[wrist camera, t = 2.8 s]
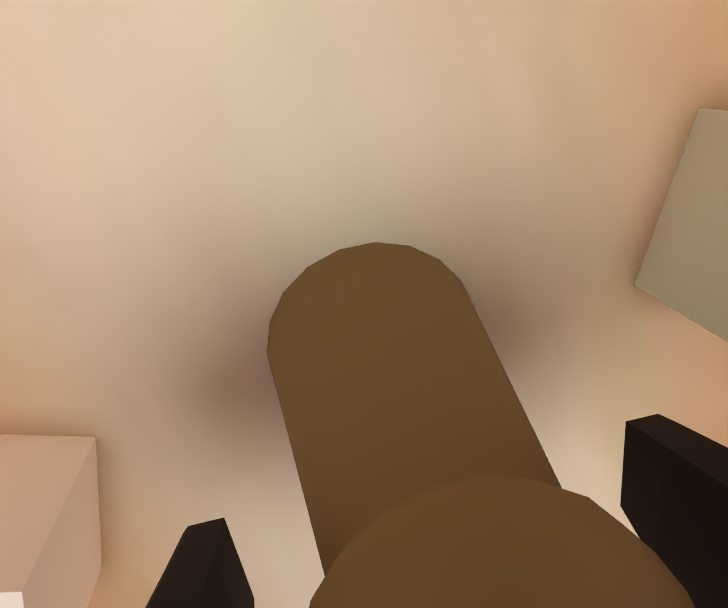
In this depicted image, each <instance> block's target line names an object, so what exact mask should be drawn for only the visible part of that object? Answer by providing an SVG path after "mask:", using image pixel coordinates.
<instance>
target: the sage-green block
mask: <svg viewBox="0 0 728 608" xmlns="http://www.w3.org/2000/svg"><path fill="white" fill-rule="evenodd" d="M634 286H636V287H638V288H639V289H641V290H643V291H644V292H646V293H647V294H649V295H651V296H652V297H654V298H656V299H657V300H659V301H661V302H662V303H664V304H666V305H667V306H669V307H671V308H672V309H674V310H676V311H677V312H679V313H680V314H682V315H684V316H685V317H687V318H689V319H690V320H692V321H694V322H695V323H697V324H699V325H700V326H702V327H704V328H705V329H707V330H709V331H710V332H712V333H714V334H715V335H717V336H718V337H720V338H722V339H723V340H725V341H727V342H728V110H717V109H707V108H699V110H698V113H697V116H696V118H695V121H694V124H693V126H692V129H691V132H690V135H689V137H688V140H687V143H686V145H685V148H684V151H683V153H682V156H681V159H680V162H679V164H678V167H677V170H676V172H675V175H674V178H673V180H672V183H671V186H670V189H669V191H668V194H667V197H666V199H665V202H664V205H663V207H662V210H661V213H660V216H659V218H658V221H657V224H656V226H655V229H654V232H653V234H652V237H651V240H650V243H649V245H648V248H647V251H646V253H645V256H644V259H643V261H642V264H641V267H640V270H639V272H638V275H637V278H636V280H635V283H634Z"/></svg>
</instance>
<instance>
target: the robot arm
mask: <svg viewBox="0 0 728 608" xmlns="http://www.w3.org/2000/svg"><path fill="white" fill-rule="evenodd" d="M620 506H621V508H622V509H623V511H624V513H625V514H626V516H627V518H628V519H629V521H630V523H631V525H632V526H633V528H634V530H635V531H636V533H637V535H638V536H639V538H640V539H641V541H643V542H644V543H645V544H646V545H647V546H648V547H650V548H651V549H652V550H653V551H654V552H655V553H656V554H657V555H658V556H659V558H660V559H661V560H662V561H663V563H664V564H665V565H666V566H667V568H668V569H669V570H670V571H671V572H672V574H673V575H674V576H675V577H676V579H677V580H678V581H679V582H680V584H681V585H682V586H683V587H684V588H685V590H686V591H687V592H688V594H689V596H690V598H691V600H692V602H693V604H694V606H695V608H728V448H727V447H725V446H723V445H721V444H719V443H717V442H715V441H713V440H711V439H709V438H707V437H705V436H703V435H701V434H699V433H697V432H695V431H693V430H691V429H689V428H687V427H685V426H683V425H681V424H679V423H677V422H675V421H672V420H670V419H668V418H666V417H664V416H662V415H659V414H655V415H651V416H647V417H643V418H639V419H634V420H630V421H626V428H625V443H624V458H623V473H622V488H621V503H620ZM145 608H254V596H253V594H252V591H251V588H250V586H249V583H248V580H247V578H246V575H245V572H244V570H243V567H242V564H241V562H240V559H239V556H238V554H237V551H236V548H235V545H234V543H233V540H232V537H231V535H230V532H229V529H228V527H227V524H226V521H225V519H224V518H221V519H216V520H212V521H208V522H204V523H200V524H195V525H191V526H188V527H187V528H186V530H185V531H184V533H183V535H182V537H181V539H180V541H179V543H178V545H177V547H176V549H175V551H174V553H173V555H172V557H171V559H170V561H169V563H168V565H167V567H166V569H165V571H164V573H163V575H162V577H161V579H160V580H159V582H158V584H157V586H156V588H155V590H154V592H153V594H152V596H151V598H150V600H149V602H148V604H147V606H146V607H145Z"/></svg>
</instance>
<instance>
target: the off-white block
mask: <svg viewBox="0 0 728 608" xmlns="http://www.w3.org/2000/svg"><path fill="white" fill-rule="evenodd" d="M101 567H102V556H101V535H100V514H99V494H98V473H97V452H96V437H85V436H44V435H3V434H0V608H88V605H89V602H90V599H91V597H92V594H93V591H94V588H95V585H96V582H97V579H98V576H99V573H100V570H101Z"/></svg>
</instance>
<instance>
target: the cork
mask: <svg viewBox="0 0 728 608" xmlns="http://www.w3.org/2000/svg"><path fill="white" fill-rule="evenodd" d="M267 354H268V358H269V362H270V366H271V370H272V374H273V378H274V381H275V385H276V389H277V393H278V397H279V401H280V405H281V409H282V412H283V416H284V420H285V424H286V428H287V432H288V436H289V439H290V443H291V447H292V451H293V455H294V459H295V463H296V467H297V470H298V474H299V478H300V482H301V486H302V490H303V494H304V497H305V501H306V505H307V509H308V513H309V517H310V521H311V524H312V528H313V532H314V536H315V540H316V544H317V548H318V552H319V555H320V559H321V563H322V567H323V571H324V575H325V578H324V580H323V581H322V583H321V584H320V586H319V588H318V589H317V591H316V593H315V594H314V596H313V597H312V599H311V601H310V606H309V608H695V606H694V604H693V602H692V600H691V598H690V596H689V594H688V592H687V591H686V590H685V588H684V587H683V586H682V585H681V584H680V582H679V581H678V580H677V579H676V577H675V576H674V575H673V574H672V572H671V571H670V570H669V569H668V568H667V566H666V565H665V564H664V563H663V561H662V560H661V559H660V558H659V556H658V555H657V554H656V553H655V552H654V551H653V550H652V549H651V548H650V547H648V546H647V545H646V544H645V543H644V542H643V541H641V540H640V539H639V538H638V537H637V536H636V535H634V534H633V533H632V532H631V531H630V530H629V529H627V528H626V527H625V526H624V525H623V524H622V523H620V522H619V521H618V520H616V519H615V518H614V517H613V516H611V515H610V514H609V513H608V512H606V511H605V510H604V509H602V508H601V507H600V506H599V505H597V504H596V503H595V502H594V501H592V500H591V499H590V498H589V497H586V496H583V495H580V494H577V493H573V492H570V491H567V490H564V489H562V488H561V485H560V483H559V481H558V479H557V477H556V475H555V473H554V471H553V469H552V467H551V465H550V463H549V461H548V459H547V457H546V455H545V453H544V450H543V448H542V446H541V444H540V442H539V440H538V438H537V436H536V434H535V432H534V430H533V428H532V426H531V424H530V422H529V420H528V417H527V415H526V413H525V411H524V409H523V407H522V405H521V403H520V401H519V399H518V397H517V395H516V393H515V391H514V389H513V387H512V385H511V382H510V380H509V378H508V376H507V374H506V372H505V370H504V368H503V366H502V364H501V362H500V360H499V358H498V356H497V354H496V352H495V349H494V347H493V345H492V343H491V341H490V339H489V337H488V335H487V333H486V331H485V329H484V327H483V325H482V323H481V321H480V319H479V317H478V314H477V312H476V310H475V308H474V306H473V304H472V302H471V300H470V298H469V296H468V294H467V292H466V290H465V288H464V286H463V284H462V282H461V280H460V279H459V278H458V277H457V276H456V275H454V274H453V273H452V272H451V271H450V270H449V269H448V268H447V267H446V266H445V265H444V264H443V263H442V262H441V261H440V260H439V259H437V258H434V257H432V256H430V255H428V254H426V253H424V252H421V251H419V250H417V249H415V248H413V247H410V246H403V245H394V244H384V243H370V244H365V245H360V246H356V247H351V248H346V249H341V250H338V251H336V252H335V253H333V254H331V255H329V256H327V257H326V258H324V259H322V260H320V261H318V262H316V263H315V264H313V265H311V266H309V267H308V268H307V269H306V270H305V271H304V272H303V273H302V274H301V275H300V276H299V277H298V278H297V279H296V280H295V281H294V282H293V283H292V284H291V285H290V286H289V287H288V288H287V290H286V291H285V292H284V293H283V295H282V297H281V300H280V302H279V304H278V306H277V308H276V310H275V312H274V314H273V316H272V319H271V321H270V326H269V337H268V347H267Z"/></svg>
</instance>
